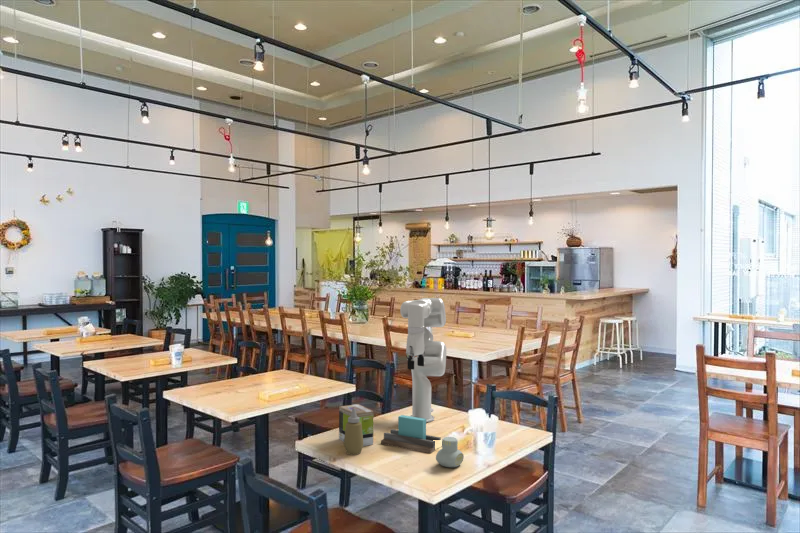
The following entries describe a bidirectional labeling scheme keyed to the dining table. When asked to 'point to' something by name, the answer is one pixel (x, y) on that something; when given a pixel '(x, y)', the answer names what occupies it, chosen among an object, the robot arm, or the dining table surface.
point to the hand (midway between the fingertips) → (415, 367)
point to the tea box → (364, 419)
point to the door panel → (412, 427)
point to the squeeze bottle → (353, 434)
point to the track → (410, 442)
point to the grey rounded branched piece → (449, 453)
